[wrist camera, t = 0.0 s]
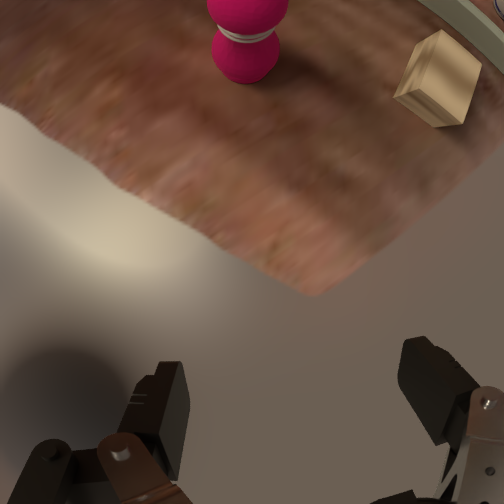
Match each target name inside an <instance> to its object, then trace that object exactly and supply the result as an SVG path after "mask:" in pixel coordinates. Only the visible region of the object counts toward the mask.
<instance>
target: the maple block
mask: <svg viewBox="0 0 504 504" xmlns="http://www.w3.org/2000/svg"><path fill="white" fill-rule="evenodd" d="M481 66H482V64H481V63H480V62H479V61H478V60H477V59H476V58H475V57H474V56H473V55H472V54H470V53H469V52H468V51H467V50H466V49H465V48H464V47H463V46H461V45H460V44H459V43H458V42H457V41H455V40H454V39H453V38H452V37H451V36H449V35H448V34H447V33H446V32H445V31H443V30H440V31H438V32H436V33H435V34H433V35H431V36H429V37H428V38H426V39H424V40H423V41H421V42H419V43H418V44H416V46H415V49H414V51H413V53H412V56H411V58H410V60H409V63H408V65H407V68H406V70H405V72H404V74H403V77H402V79H401V81H400V84H399V86H398V88H397V90H396V93H395V95H394V97H393V99H395V100H396V101H398V102H399V103H401V104H402V105H404V106H405V107H406V108H408V109H409V110H411V111H412V112H413V113H415V114H416V115H417V116H419V117H420V118H421V119H423V120H424V121H425V122H427V123H428V124H429V125H430V126H432V127H433V128H434V127H442V126H450V125H459V124H463V122H464V119H465V116H466V113H467V111H468V108H469V105H470V102H471V99H472V96H473V93H474V89H475V86H476V83H477V80H478V77H479V73H480V70H481Z"/></svg>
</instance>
